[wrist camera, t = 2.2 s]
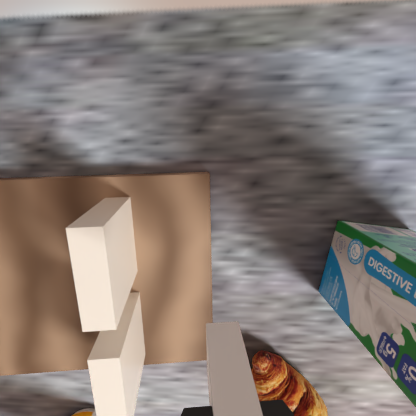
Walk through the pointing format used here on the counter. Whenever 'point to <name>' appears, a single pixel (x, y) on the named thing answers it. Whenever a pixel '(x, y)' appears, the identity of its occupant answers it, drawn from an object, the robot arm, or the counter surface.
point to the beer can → (85, 412)
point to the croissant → (285, 385)
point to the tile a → (103, 262)
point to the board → (63, 276)
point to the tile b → (118, 363)
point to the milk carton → (376, 294)
